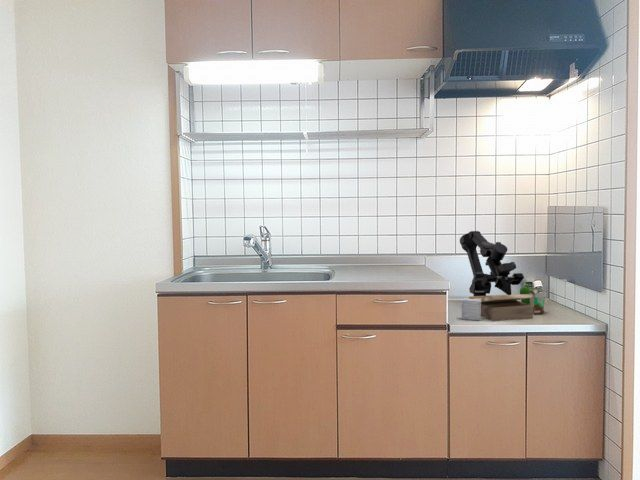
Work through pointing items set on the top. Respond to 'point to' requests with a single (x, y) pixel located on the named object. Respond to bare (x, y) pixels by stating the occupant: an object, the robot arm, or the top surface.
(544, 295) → the food container
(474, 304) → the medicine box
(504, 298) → the pale plank
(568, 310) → the top surface
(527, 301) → the bell pepper
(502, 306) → the floor platform
